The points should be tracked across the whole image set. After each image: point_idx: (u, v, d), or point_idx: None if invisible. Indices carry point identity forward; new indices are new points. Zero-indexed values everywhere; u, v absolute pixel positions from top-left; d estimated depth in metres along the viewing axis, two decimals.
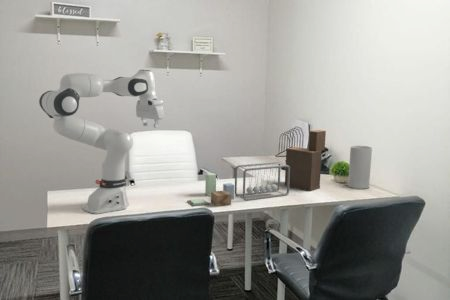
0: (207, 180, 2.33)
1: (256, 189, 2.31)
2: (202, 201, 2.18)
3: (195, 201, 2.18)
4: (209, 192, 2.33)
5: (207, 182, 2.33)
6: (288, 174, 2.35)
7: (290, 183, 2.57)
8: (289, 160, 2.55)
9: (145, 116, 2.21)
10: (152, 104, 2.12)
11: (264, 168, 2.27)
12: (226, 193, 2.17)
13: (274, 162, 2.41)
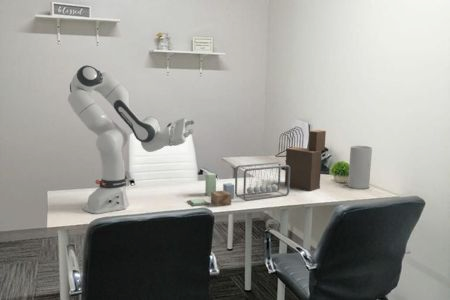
0: (207, 180, 2.33)
1: (256, 189, 2.31)
2: (202, 201, 2.18)
3: (195, 201, 2.18)
4: (209, 192, 2.33)
5: (207, 182, 2.33)
6: (288, 174, 2.35)
7: (290, 183, 2.57)
8: (289, 160, 2.55)
9: (181, 128, 2.18)
10: (170, 123, 2.26)
11: (264, 168, 2.27)
12: (226, 193, 2.17)
13: (274, 162, 2.41)
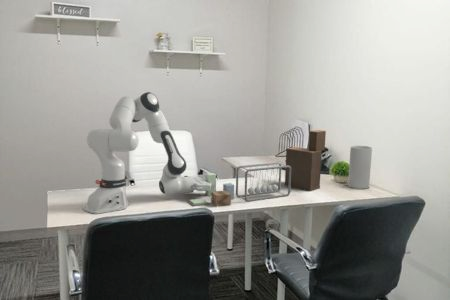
0: (207, 180, 2.33)
1: (257, 190, 2.30)
2: (202, 201, 2.18)
3: (195, 201, 2.18)
4: (209, 192, 2.33)
5: None
6: (289, 174, 2.34)
7: None
8: (289, 160, 2.55)
9: (203, 180, 2.31)
10: None
11: (266, 169, 2.26)
12: (226, 193, 2.17)
13: None
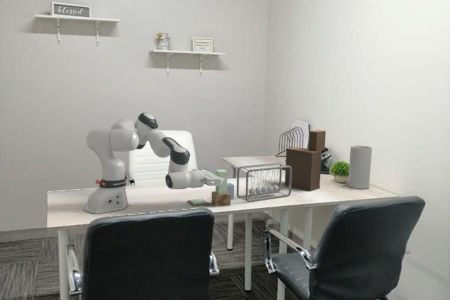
0: None
1: (258, 190, 2.29)
2: (202, 201, 2.18)
3: (195, 201, 2.18)
4: (220, 190, 2.15)
5: None
6: (290, 175, 2.34)
7: None
8: (289, 160, 2.55)
9: (213, 174, 2.13)
10: (194, 169, 2.18)
11: (267, 169, 2.25)
12: None
13: (276, 163, 2.39)
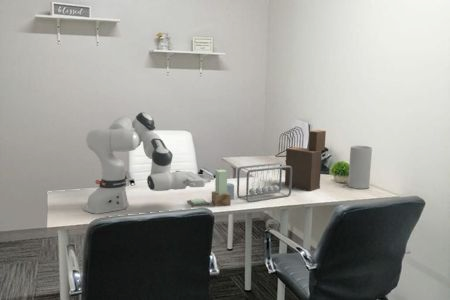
0: (217, 177, 2.15)
1: (259, 190, 2.29)
2: (202, 201, 2.18)
3: (195, 201, 2.18)
4: (220, 190, 2.15)
5: (217, 179, 2.15)
6: (290, 175, 2.34)
7: None
8: (289, 160, 2.55)
9: (196, 175, 2.10)
10: None
11: (267, 169, 2.25)
12: None
13: (276, 163, 2.39)
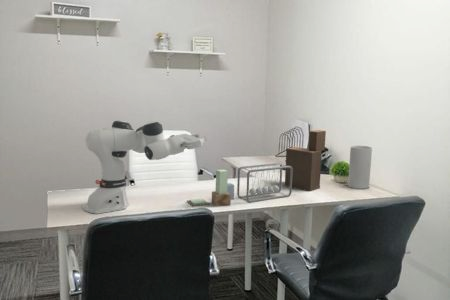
0: (218, 177, 2.15)
1: (259, 191, 2.28)
2: (202, 201, 2.18)
3: (195, 201, 2.18)
4: (220, 190, 2.15)
5: (218, 179, 2.15)
6: (291, 175, 2.33)
7: None
8: (289, 160, 2.55)
9: (192, 136, 2.08)
10: (172, 135, 2.13)
11: (267, 169, 2.24)
12: None
13: (276, 163, 2.39)
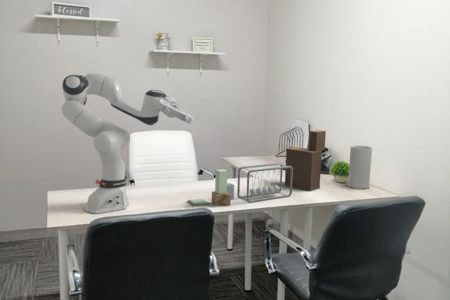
0: (218, 177, 2.15)
1: (259, 191, 2.28)
2: (202, 201, 2.18)
3: (195, 201, 2.18)
4: (220, 190, 2.15)
5: (218, 179, 2.16)
6: (291, 175, 2.33)
7: None
8: (289, 160, 2.55)
9: (175, 116, 2.11)
10: (156, 108, 2.13)
11: (268, 169, 2.24)
12: (226, 193, 2.17)
13: (276, 163, 2.38)
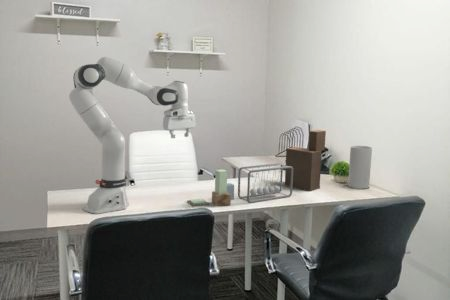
0: (218, 177, 2.15)
1: (260, 191, 2.28)
2: (202, 201, 2.18)
3: (195, 201, 2.18)
4: (220, 190, 2.15)
5: (218, 179, 2.15)
6: (291, 175, 2.33)
7: (290, 183, 2.57)
8: (289, 160, 2.55)
9: None
10: None
11: (268, 169, 2.24)
12: (227, 193, 2.17)
13: (277, 163, 2.38)
